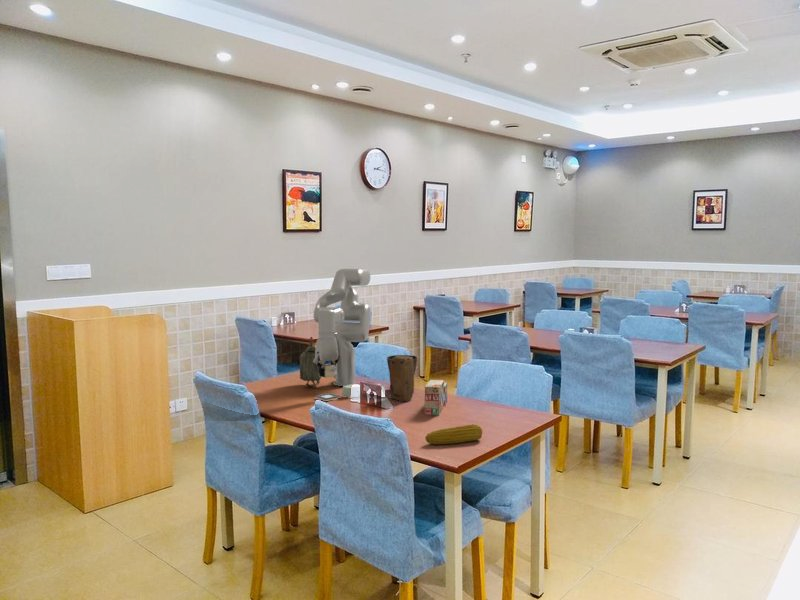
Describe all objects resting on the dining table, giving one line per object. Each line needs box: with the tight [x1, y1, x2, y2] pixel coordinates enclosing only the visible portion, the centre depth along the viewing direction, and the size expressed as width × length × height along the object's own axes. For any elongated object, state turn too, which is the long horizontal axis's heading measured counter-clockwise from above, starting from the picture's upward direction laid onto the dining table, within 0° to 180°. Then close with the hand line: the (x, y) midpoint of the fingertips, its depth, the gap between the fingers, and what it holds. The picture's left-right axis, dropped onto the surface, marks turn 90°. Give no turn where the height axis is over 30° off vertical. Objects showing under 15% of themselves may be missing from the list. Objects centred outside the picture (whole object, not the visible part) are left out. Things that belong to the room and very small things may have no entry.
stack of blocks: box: [424, 379, 448, 416], centre depth 252 cm, size 21×6×12 cm, turn 166°
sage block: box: [342, 385, 352, 397], centre depth 272 cm, size 5×5×5 cm
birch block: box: [323, 363, 336, 379], centre depth 267 cm, size 5×5×5 cm
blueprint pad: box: [314, 392, 341, 402], centre depth 269 cm, size 8×8×2 cm
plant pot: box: [386, 354, 418, 376], centre depth 285 cm, size 15×15×16 cm
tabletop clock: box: [299, 336, 322, 389], centre depth 292 cm, size 14×9×25 cm, turn 0°
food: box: [424, 424, 483, 445], centre depth 207 cm, size 21×6×6 cm, turn 108°
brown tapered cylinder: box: [389, 354, 415, 402], centre depth 267 cm, size 11×8×20 cm
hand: (327, 375), depth 267 cm, fingers closed on birch block, 5 cm apart
